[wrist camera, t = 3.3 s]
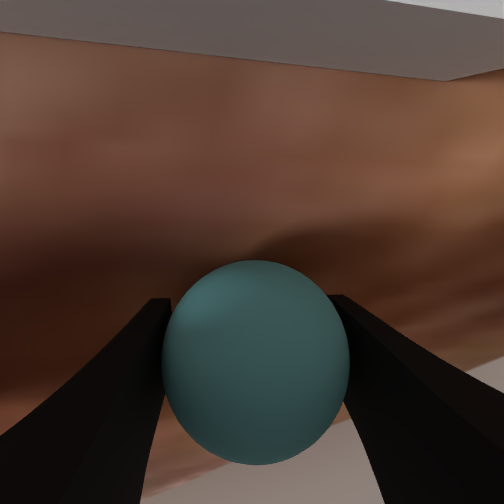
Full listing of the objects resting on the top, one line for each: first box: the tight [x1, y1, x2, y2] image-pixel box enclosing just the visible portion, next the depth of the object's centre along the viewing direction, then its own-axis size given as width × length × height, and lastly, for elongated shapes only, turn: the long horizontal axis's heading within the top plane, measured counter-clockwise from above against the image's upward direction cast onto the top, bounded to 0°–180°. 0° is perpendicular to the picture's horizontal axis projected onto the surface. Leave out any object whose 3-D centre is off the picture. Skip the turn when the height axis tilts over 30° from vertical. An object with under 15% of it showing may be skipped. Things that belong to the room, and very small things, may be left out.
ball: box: [161, 260, 350, 465], centre depth 8 cm, size 6×6×6 cm
